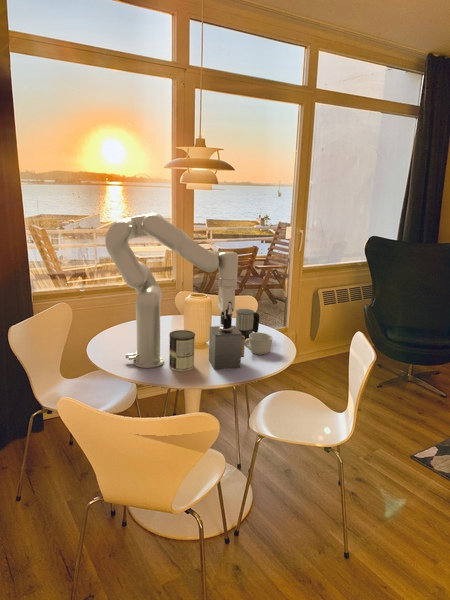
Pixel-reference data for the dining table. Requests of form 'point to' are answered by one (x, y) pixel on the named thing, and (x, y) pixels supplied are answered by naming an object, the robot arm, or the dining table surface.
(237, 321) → the milk frother
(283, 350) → the dining table surface
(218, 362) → the gray box
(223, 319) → the plunger
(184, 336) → the coffee can
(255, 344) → the teacup
